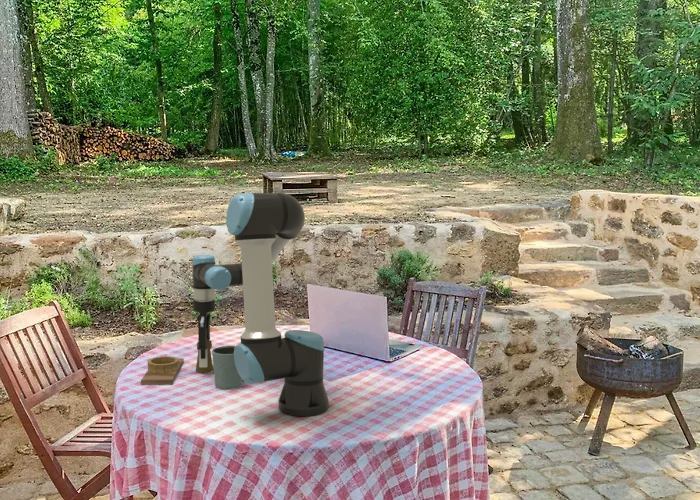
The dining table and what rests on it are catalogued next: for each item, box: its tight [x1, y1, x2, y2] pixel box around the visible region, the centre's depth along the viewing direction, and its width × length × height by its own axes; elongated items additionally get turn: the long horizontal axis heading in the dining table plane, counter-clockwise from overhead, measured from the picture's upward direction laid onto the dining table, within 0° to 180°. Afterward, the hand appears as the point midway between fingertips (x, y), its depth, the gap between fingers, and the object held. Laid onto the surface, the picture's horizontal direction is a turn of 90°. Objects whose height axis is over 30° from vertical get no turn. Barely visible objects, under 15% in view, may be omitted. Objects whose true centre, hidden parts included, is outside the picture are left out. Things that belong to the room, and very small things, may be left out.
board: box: [140, 355, 185, 386], centre depth 224 cm, size 24×10×4 cm, turn 6°
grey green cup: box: [211, 345, 243, 390], centre depth 213 cm, size 10×10×12 cm
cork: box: [195, 339, 214, 374], centre depth 228 cm, size 6×6×11 cm
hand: (204, 364), depth 228 cm, fingers open, 5 cm apart
